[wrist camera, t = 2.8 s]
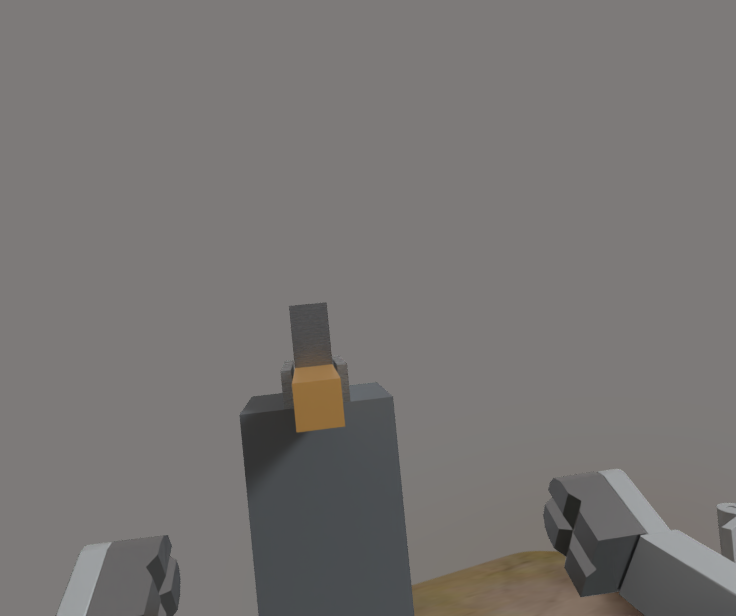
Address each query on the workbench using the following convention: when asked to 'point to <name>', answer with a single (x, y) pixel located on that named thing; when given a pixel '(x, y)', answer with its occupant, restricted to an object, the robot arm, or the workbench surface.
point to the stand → (326, 506)
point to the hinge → (727, 529)
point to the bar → (314, 371)
